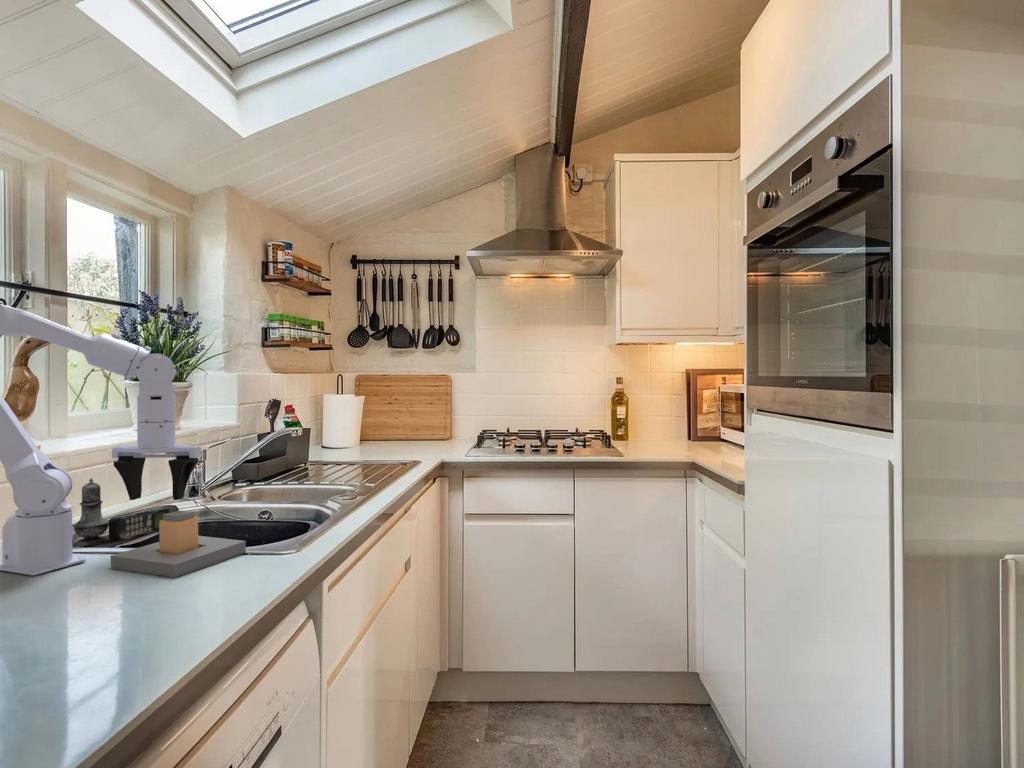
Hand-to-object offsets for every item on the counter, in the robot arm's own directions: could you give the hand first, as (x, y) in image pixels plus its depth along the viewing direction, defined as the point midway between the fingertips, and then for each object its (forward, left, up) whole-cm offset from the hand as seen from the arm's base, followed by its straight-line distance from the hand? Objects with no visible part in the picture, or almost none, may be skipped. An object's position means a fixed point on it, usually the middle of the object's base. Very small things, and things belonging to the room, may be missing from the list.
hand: (156, 498), depth 102 cm
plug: (+8, -2, -9) cm, 13 cm away
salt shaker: (-18, +1, -10) cm, 20 cm away
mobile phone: (-14, +10, -10) cm, 20 cm away
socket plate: (+8, -2, -9) cm, 12 cm away
